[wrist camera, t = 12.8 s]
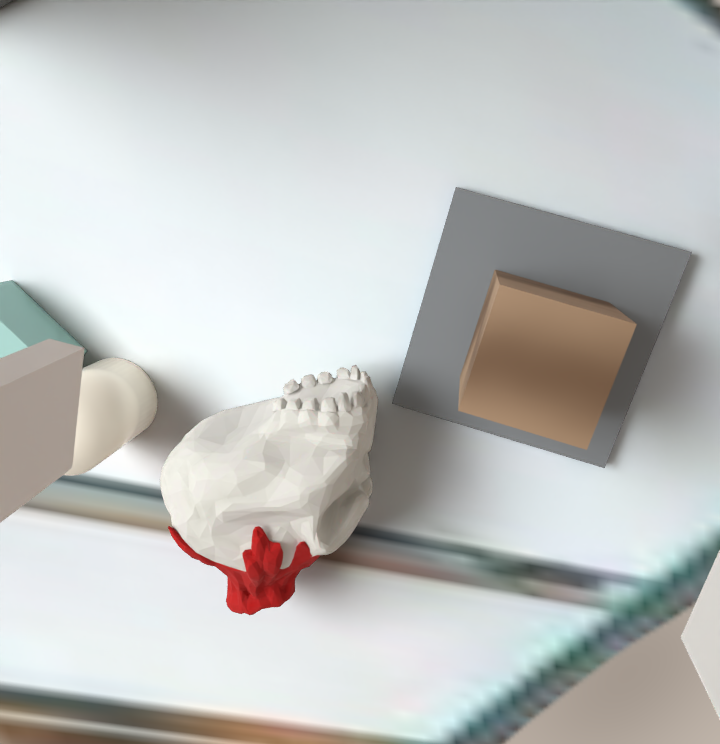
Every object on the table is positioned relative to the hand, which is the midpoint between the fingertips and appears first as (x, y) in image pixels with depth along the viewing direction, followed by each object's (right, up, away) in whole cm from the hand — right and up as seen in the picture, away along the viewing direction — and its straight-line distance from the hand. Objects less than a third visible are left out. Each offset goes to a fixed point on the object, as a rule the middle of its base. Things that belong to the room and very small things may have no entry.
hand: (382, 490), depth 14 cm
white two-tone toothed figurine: (-5, -3, +27) cm, 28 cm away
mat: (+9, +5, +23) cm, 25 cm away
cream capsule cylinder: (-15, +1, +28) cm, 32 cm away
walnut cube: (+9, +4, +22) cm, 24 cm away
